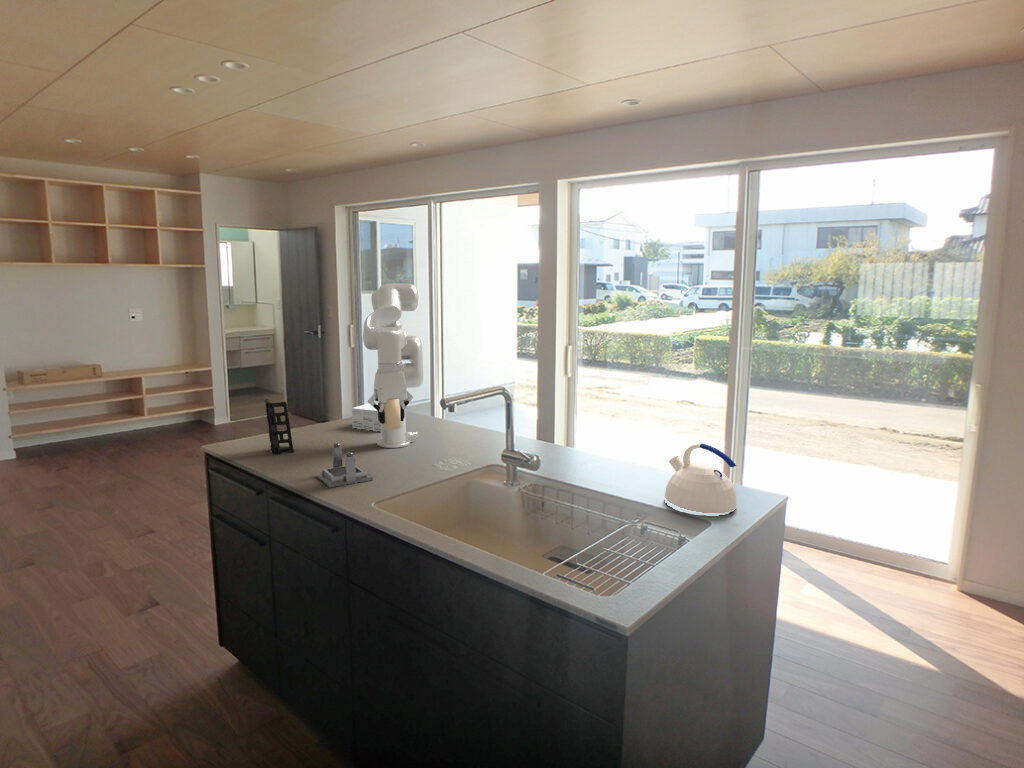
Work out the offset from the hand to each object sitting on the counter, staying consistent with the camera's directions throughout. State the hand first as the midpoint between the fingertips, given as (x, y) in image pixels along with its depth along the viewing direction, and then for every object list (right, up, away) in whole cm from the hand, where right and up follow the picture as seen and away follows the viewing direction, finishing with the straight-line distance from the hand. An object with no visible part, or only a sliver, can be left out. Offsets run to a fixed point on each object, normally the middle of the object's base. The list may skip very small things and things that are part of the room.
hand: (391, 421), depth 211 cm
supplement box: (-18, -7, +65) cm, 68 cm away
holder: (-46, -13, +26) cm, 55 cm away
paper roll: (0, -2, 0) cm, 2 cm away
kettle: (+94, -23, -26) cm, 100 cm away
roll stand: (-15, -18, -4) cm, 24 cm away
